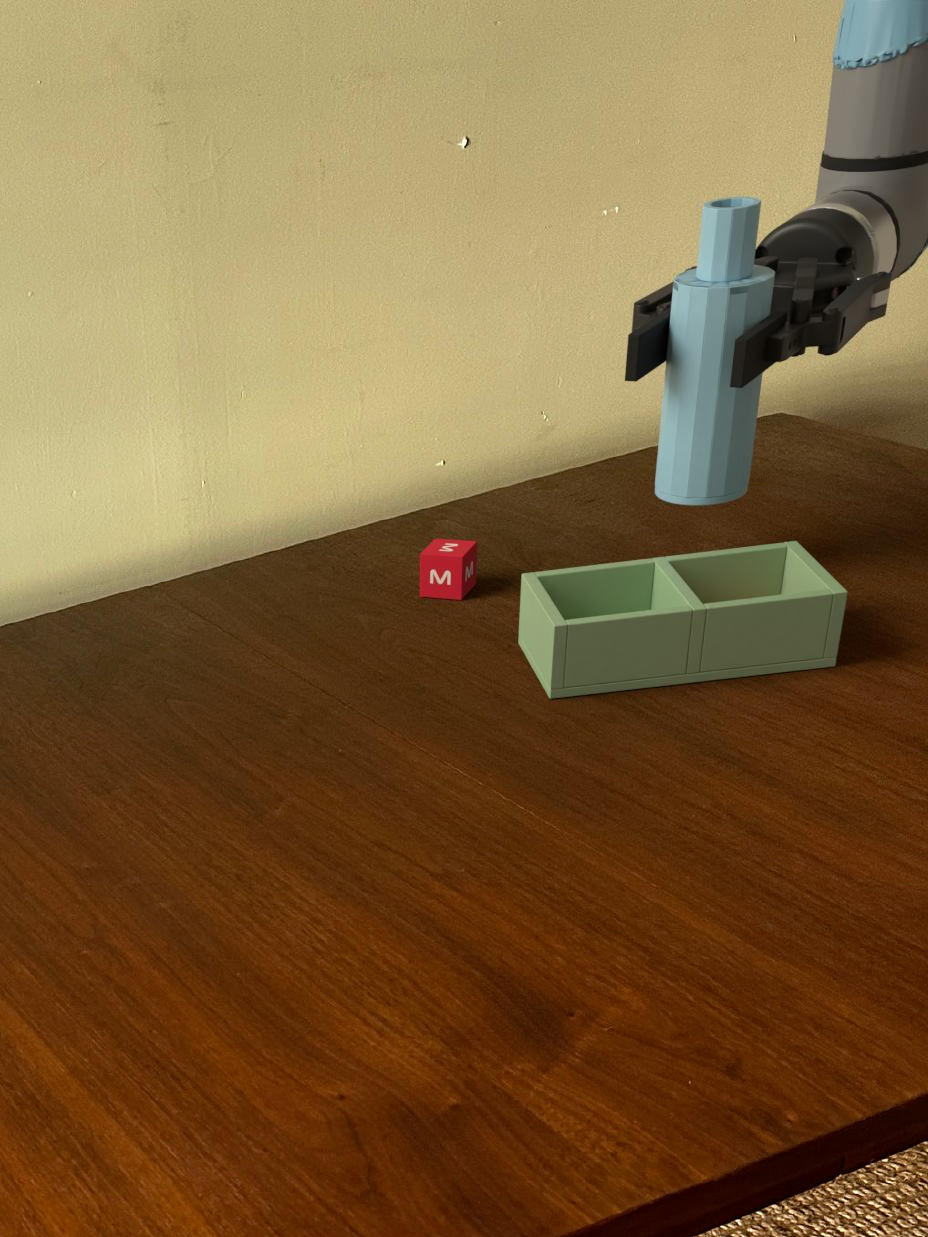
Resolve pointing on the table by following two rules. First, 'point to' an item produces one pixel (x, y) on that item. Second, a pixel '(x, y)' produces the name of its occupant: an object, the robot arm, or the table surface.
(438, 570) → the red letter cube
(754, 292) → the bottle
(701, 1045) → the table surface
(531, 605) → the holder
